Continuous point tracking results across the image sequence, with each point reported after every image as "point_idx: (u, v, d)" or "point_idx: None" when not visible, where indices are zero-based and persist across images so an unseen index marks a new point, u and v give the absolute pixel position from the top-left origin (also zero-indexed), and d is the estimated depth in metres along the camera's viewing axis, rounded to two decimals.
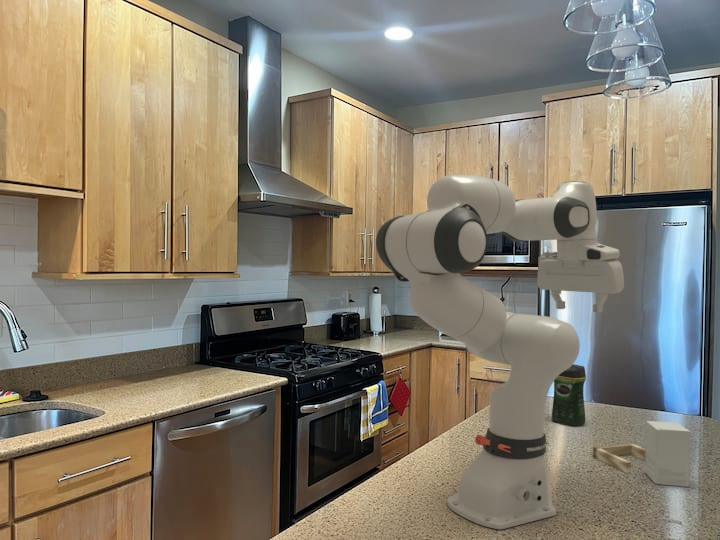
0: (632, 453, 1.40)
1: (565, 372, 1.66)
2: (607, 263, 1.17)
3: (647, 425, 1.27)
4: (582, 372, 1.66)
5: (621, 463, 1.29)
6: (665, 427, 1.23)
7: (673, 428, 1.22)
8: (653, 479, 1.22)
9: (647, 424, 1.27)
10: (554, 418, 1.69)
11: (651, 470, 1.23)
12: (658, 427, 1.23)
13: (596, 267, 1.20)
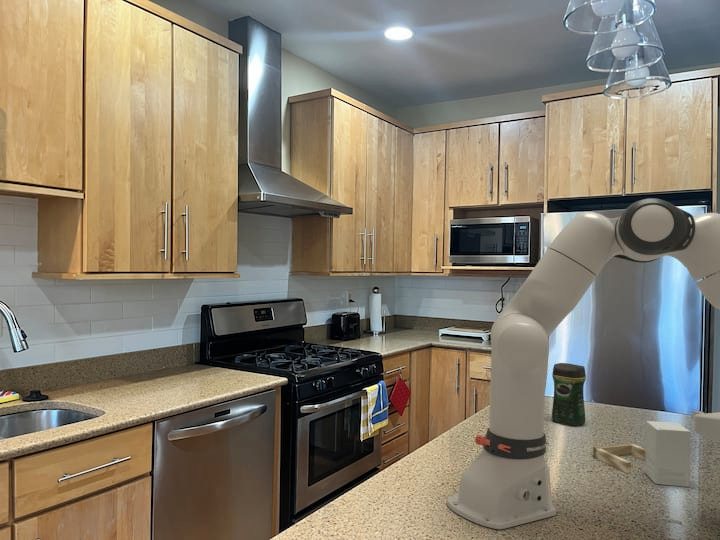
0: (632, 453, 1.40)
1: (565, 372, 1.66)
2: None
3: (647, 425, 1.27)
4: (582, 372, 1.66)
5: (621, 463, 1.29)
6: (665, 427, 1.23)
7: (673, 428, 1.22)
8: (653, 479, 1.22)
9: (647, 424, 1.27)
10: (554, 418, 1.69)
11: (651, 470, 1.23)
12: (658, 427, 1.23)
13: None
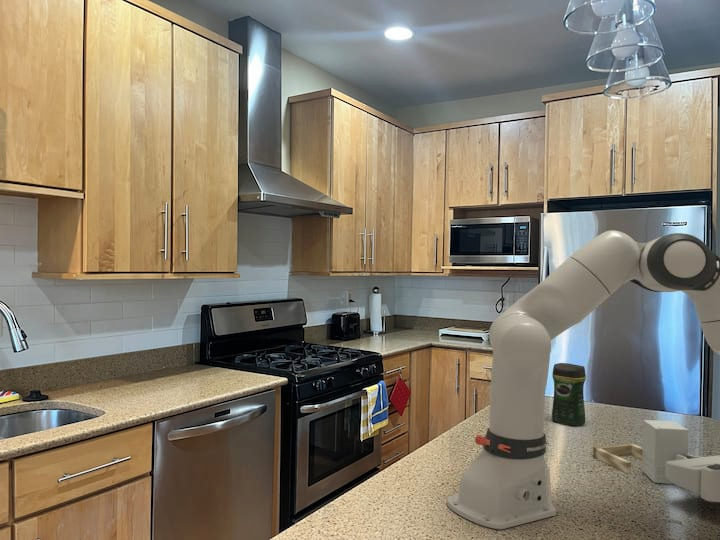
0: (632, 453, 1.40)
1: (565, 372, 1.66)
2: (696, 468, 1.07)
3: (644, 424, 1.28)
4: (582, 372, 1.66)
5: (621, 463, 1.29)
6: (663, 426, 1.23)
7: (671, 427, 1.23)
8: (652, 478, 1.23)
9: (644, 423, 1.28)
10: (554, 418, 1.69)
11: (650, 469, 1.24)
12: (657, 426, 1.23)
13: None
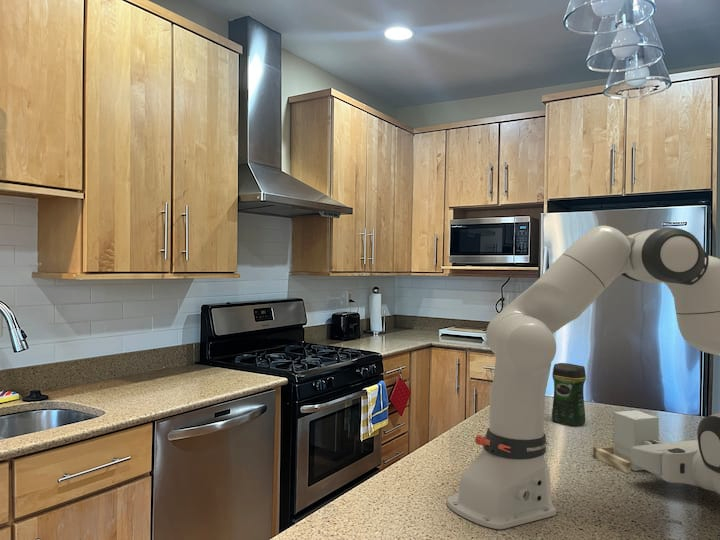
0: None
1: (565, 372, 1.66)
2: (658, 452, 1.16)
3: (617, 416, 1.34)
4: (582, 372, 1.66)
5: (621, 463, 1.29)
6: (638, 416, 1.31)
7: (644, 416, 1.31)
8: None
9: (617, 415, 1.34)
10: (554, 418, 1.69)
11: (627, 458, 1.31)
12: (633, 417, 1.31)
13: None
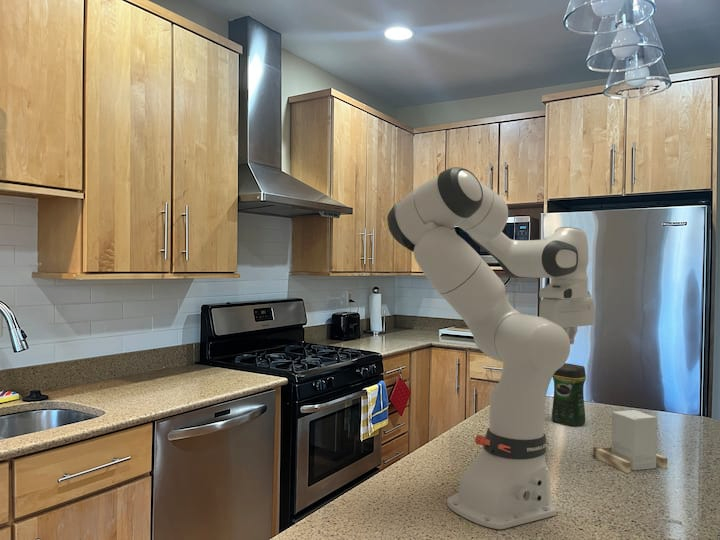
0: None
1: (565, 372, 1.66)
2: None
3: (615, 416, 1.35)
4: (582, 372, 1.66)
5: (621, 463, 1.29)
6: (636, 416, 1.32)
7: (642, 416, 1.32)
8: None
9: (615, 415, 1.35)
10: (554, 418, 1.69)
11: (626, 458, 1.31)
12: (631, 416, 1.31)
13: None
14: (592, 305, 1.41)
